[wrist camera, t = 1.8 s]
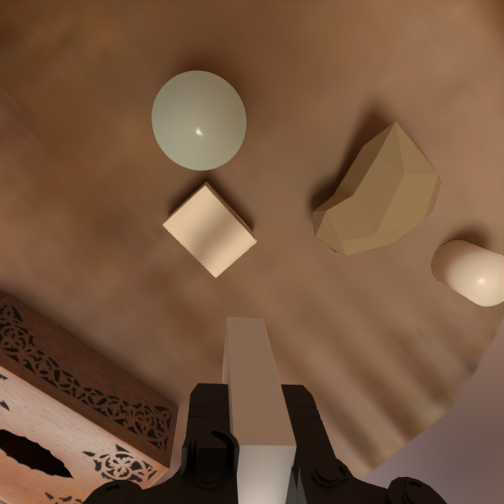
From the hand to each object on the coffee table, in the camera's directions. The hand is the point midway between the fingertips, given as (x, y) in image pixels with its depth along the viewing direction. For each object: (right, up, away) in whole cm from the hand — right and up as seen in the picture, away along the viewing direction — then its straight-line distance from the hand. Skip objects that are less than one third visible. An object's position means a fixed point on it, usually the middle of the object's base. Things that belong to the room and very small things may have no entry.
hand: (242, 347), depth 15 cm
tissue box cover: (-24, -14, +32) cm, 43 cm away
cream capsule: (+27, +3, +32) cm, 41 cm away
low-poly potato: (+13, +11, +28) cm, 33 cm away
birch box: (-4, +7, +27) cm, 29 cm away
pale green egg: (-5, +18, +24) cm, 30 cm away
